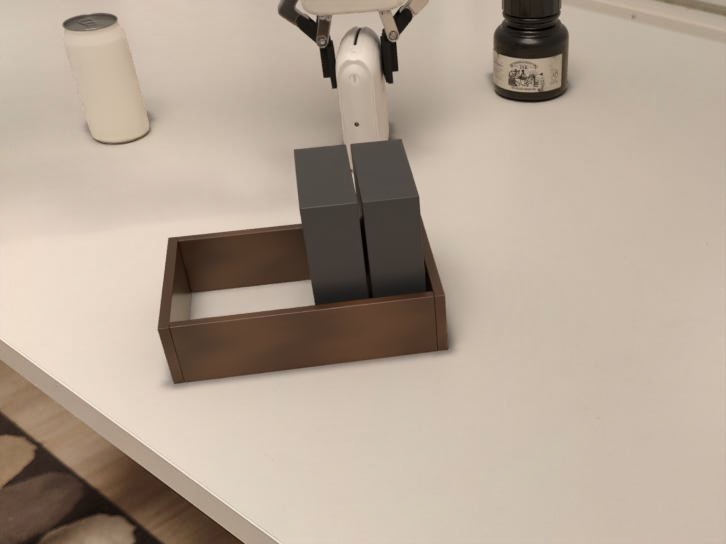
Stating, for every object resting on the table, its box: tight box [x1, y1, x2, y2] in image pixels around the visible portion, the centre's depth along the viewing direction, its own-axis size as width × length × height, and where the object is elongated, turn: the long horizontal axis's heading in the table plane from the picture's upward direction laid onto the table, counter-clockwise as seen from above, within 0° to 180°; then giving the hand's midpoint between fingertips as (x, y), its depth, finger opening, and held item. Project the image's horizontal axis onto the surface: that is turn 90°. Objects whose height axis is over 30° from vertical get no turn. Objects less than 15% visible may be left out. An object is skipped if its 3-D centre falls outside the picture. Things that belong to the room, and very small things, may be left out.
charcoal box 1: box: [293, 143, 370, 305], centre depth 72 cm, size 4×10×12 cm, turn 11°
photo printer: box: [335, 26, 390, 172], centre depth 98 cm, size 10×4×12 cm, turn 0°
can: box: [61, 12, 151, 145], centre depth 103 cm, size 6×6×12 cm
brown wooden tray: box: [156, 216, 449, 385], centre depth 75 cm, size 21×14×6 cm, turn 101°
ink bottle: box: [492, 0, 570, 101], centre depth 110 cm, size 10×9×12 cm
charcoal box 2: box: [350, 138, 426, 299], centre depth 73 cm, size 4×10×12 cm, turn 11°
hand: (361, 79), depth 97 cm, fingers closed on photo printer, 4 cm apart
